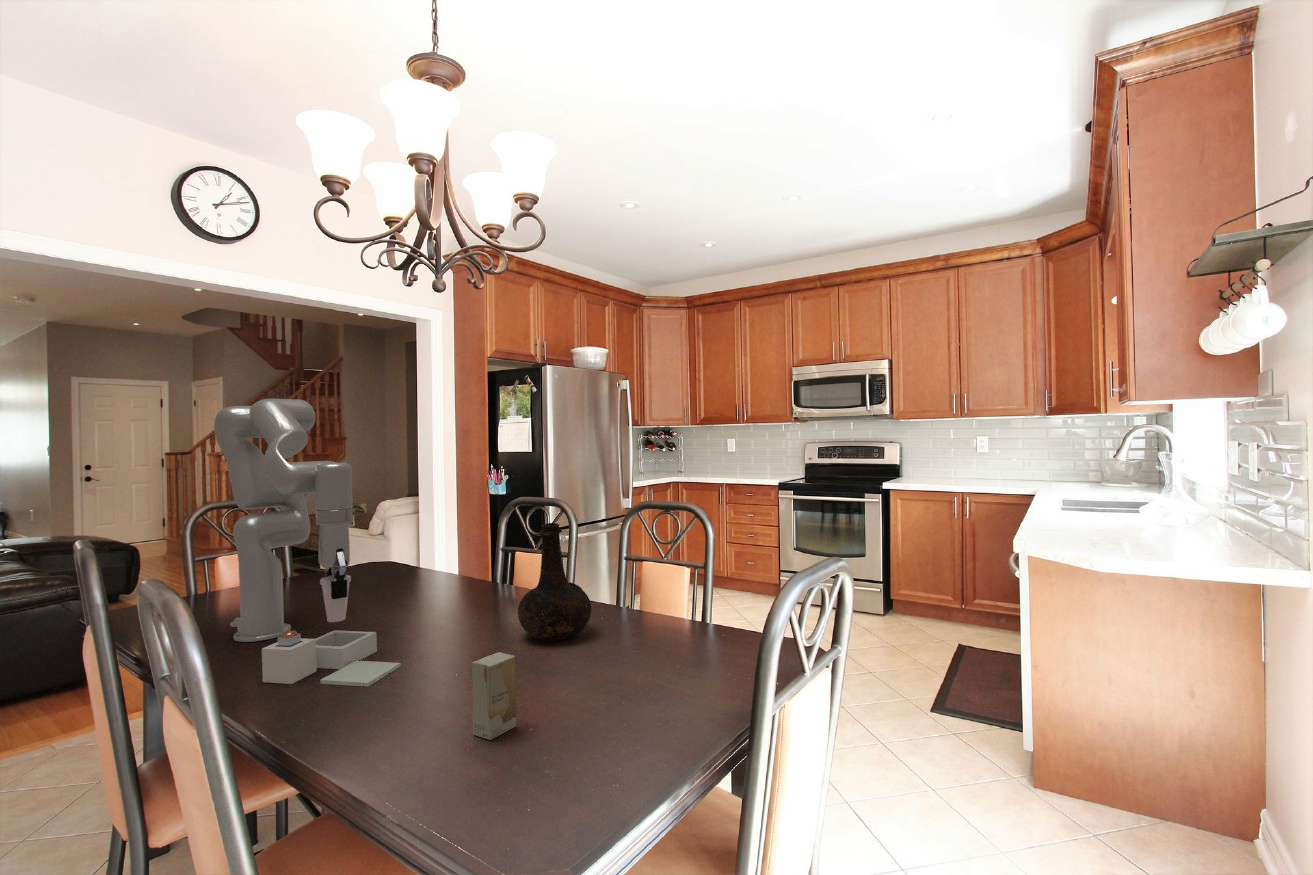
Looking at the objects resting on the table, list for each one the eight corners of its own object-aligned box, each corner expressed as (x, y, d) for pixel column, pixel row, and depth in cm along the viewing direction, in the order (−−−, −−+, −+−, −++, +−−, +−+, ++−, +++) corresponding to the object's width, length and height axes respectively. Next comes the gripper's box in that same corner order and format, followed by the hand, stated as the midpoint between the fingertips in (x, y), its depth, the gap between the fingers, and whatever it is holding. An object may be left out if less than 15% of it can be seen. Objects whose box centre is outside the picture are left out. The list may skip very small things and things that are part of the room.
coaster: (320, 683, 128) (320, 679, 128) (356, 664, 139) (356, 660, 139) (367, 686, 126) (367, 682, 126) (400, 666, 137) (400, 662, 137)
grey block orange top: (278, 665, 131) (277, 634, 131) (289, 660, 134) (288, 630, 134) (290, 666, 131) (289, 635, 131) (301, 661, 134) (300, 630, 134)
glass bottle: (606, 633, 156) (603, 521, 156) (550, 653, 143) (547, 531, 143) (559, 620, 168) (556, 517, 168) (503, 638, 154) (500, 525, 154)
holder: (298, 666, 138) (297, 646, 138) (334, 649, 149) (334, 630, 149) (343, 669, 136) (342, 648, 136) (376, 651, 147) (376, 632, 147)
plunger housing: (262, 682, 130) (261, 648, 130) (288, 669, 137) (288, 637, 137) (291, 683, 128) (290, 650, 128) (316, 671, 135) (315, 638, 135)
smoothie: (323, 625, 138) (322, 563, 138) (318, 619, 143) (316, 558, 143) (355, 620, 142) (353, 559, 142) (348, 613, 147) (347, 554, 147)
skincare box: (490, 741, 102) (488, 666, 102) (471, 735, 104) (469, 662, 104) (518, 725, 107) (516, 654, 107) (500, 719, 110) (498, 650, 110)
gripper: (309, 514, 147) (310, 590, 147) (323, 522, 133) (325, 606, 134) (344, 511, 152) (345, 584, 152) (361, 519, 138) (363, 599, 138)
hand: (335, 594), depth 143 cm, fingers closed on smoothie, 6 cm apart
